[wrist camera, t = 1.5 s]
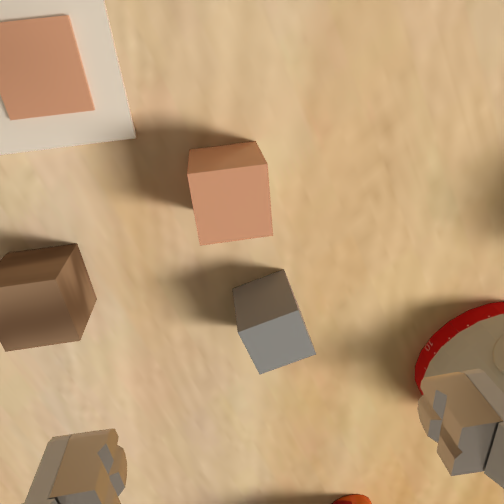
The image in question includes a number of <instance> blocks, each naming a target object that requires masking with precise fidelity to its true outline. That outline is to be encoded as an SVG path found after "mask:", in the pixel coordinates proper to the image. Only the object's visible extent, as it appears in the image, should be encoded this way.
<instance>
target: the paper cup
mask: <svg viewBox="0 0 504 504" xmlns="http://www.w3.org/2000/svg"><path fill="white" fill-rule="evenodd" d="M332 504H372V503H371V501H370V500H369V498H368V497H366V496H364V495H359V494H354V495H347V496H344V497H341V498H339V499H337V500H336V501H334V502H333V503H332Z"/></svg>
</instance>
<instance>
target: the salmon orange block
mask: <svg viewBox="0 0 504 504" xmlns="http://www.w3.org/2000/svg"><path fill="white" fill-rule="evenodd" d="M187 177H188V182H189V188H190V193H191V199H192V204H193V210H194V215H195V220H196V226H197V231H198V237H199V242H200V246H201V245H208V244H215V243H222V242H230V241H237V240H244V239H251V238H259V237H266V236H273V228H272V215H271V203H270V190H269V177H268V164H267V162H266V160H265V158H264V156H263V154H262V152H261V150H260V149H259V147H258V145H257V143H256V141H254V142H246V143H238V144H230V145H222V146H214V147H206V148H198V149H190V151H189V160H188V170H187Z"/></svg>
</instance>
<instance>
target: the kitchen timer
mask: <svg viewBox="0 0 504 504" xmlns="http://www.w3.org/2000/svg"><path fill="white" fill-rule="evenodd" d="M473 369H481V370H483V371H484V372H485V373H486V374H487V375H488V376H489V377H490V378H491V380H492V381H493V382H494V383H495V384H496V385H497V386H498V388H499V389H500V390H501V391H502V392H503V393H504V302H497V303H489V304H486V305H483V306H480V307H477V308H474V309H471V310H468V311H466V312H465V313H463V314H461V315H459V316H458V317H456V318H454V319H452V320H451V321H449V322H448V323H447V324H445V325H444V326H443V327H442V328H441V329H440V330H438V331H437V332H436V333H435V334H434V335H433V336H432V337H431V338H430V340H429V341H428V342H427V344H426V345H425V346H424V348H423V349H422V350H421V353H420V355H419V358H418V360H417V363H416V365H415V381H416V383H417V386H418V388H419V390H420V392H421V394H422V395H423V394H424V393H423V392H422V390H421V388H420V386H421V381H422V380H423V378H424V377H430V376H436V375H441V374H447V373H453V372H461V371H467V370H473Z"/></svg>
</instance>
